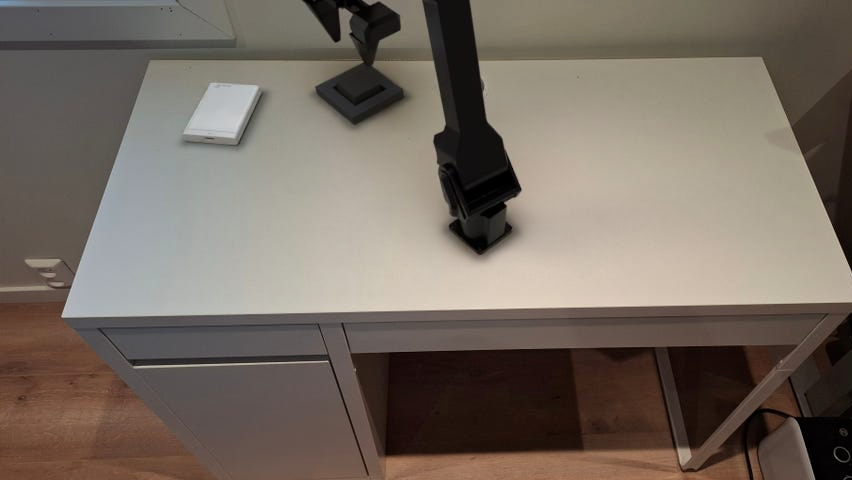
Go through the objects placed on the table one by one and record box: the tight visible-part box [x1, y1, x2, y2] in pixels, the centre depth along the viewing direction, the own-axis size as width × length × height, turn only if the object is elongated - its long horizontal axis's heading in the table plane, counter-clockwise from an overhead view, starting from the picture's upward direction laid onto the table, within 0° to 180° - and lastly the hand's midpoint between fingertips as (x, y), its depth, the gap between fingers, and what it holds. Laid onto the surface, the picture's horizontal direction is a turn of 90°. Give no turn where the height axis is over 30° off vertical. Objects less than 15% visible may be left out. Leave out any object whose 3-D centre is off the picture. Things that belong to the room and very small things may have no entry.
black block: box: [336, 70, 381, 106], centre depth 98 cm, size 5×5×2 cm
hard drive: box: [182, 82, 263, 146], centre depth 94 cm, size 2×8×12 cm
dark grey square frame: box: [314, 61, 405, 126], centre depth 98 cm, size 10×10×2 cm
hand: (353, 53), depth 92 cm, fingers open, 8 cm apart
